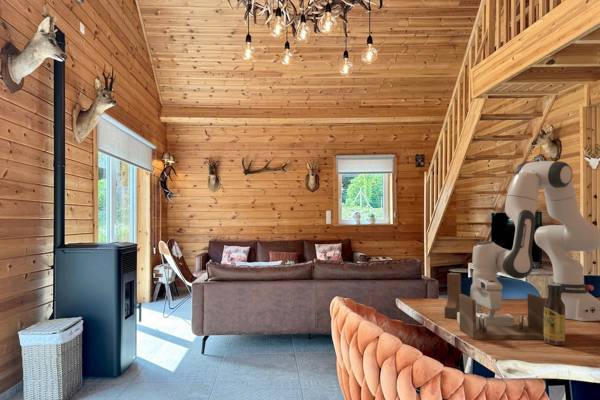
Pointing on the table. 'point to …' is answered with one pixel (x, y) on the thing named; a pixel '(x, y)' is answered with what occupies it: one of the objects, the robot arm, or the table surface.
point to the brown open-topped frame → (529, 331)
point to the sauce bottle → (554, 316)
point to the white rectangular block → (498, 319)
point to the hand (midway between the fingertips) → (485, 317)
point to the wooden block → (453, 295)
